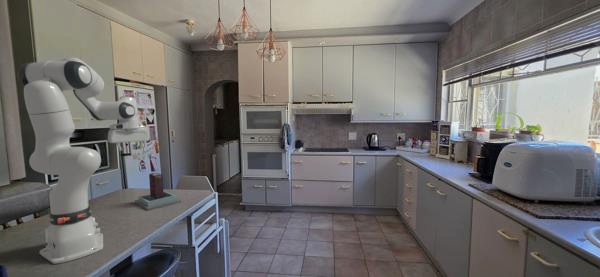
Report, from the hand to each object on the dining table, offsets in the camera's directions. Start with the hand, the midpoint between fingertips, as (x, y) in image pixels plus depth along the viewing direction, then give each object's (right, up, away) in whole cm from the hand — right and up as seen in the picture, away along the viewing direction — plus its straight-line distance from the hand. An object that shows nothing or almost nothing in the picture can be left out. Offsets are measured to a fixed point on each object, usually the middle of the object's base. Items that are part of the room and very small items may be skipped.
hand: (130, 149), depth 146 cm
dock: (+12, -32, +7) cm, 34 cm away
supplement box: (+12, -31, +6) cm, 33 cm away
